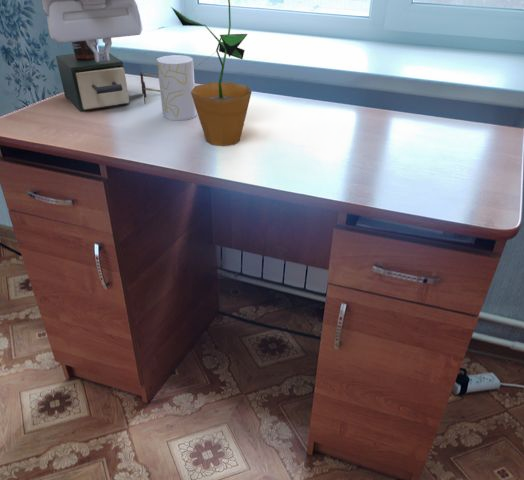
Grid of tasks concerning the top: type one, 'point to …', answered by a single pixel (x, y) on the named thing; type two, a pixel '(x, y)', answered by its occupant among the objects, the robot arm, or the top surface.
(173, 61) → the cup
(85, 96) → the drawer
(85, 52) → the supplement bottle
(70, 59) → the cabinet
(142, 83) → the sunglasses
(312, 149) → the top surface
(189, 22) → the potted plant
